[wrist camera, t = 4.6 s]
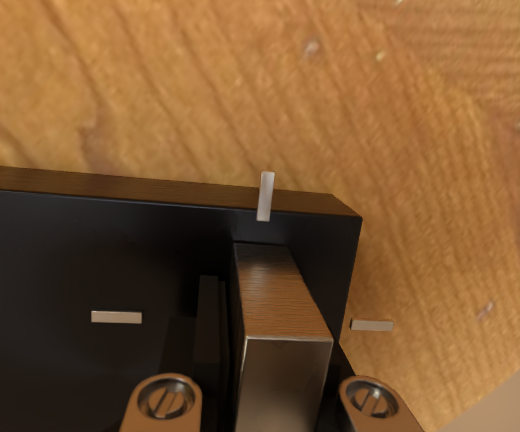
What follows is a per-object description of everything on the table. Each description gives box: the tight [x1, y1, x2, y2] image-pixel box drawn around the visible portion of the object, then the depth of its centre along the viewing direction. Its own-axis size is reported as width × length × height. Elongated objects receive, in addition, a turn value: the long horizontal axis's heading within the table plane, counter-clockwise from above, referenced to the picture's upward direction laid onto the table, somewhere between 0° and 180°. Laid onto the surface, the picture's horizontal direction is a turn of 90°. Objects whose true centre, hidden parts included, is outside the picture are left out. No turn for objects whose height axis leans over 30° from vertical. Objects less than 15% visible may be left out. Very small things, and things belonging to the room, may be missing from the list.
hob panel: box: [0, 166, 394, 432], centre depth 13 cm, size 16×12×3 cm
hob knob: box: [223, 243, 334, 432], centre depth 9 cm, size 5×2×5 cm, turn 173°
